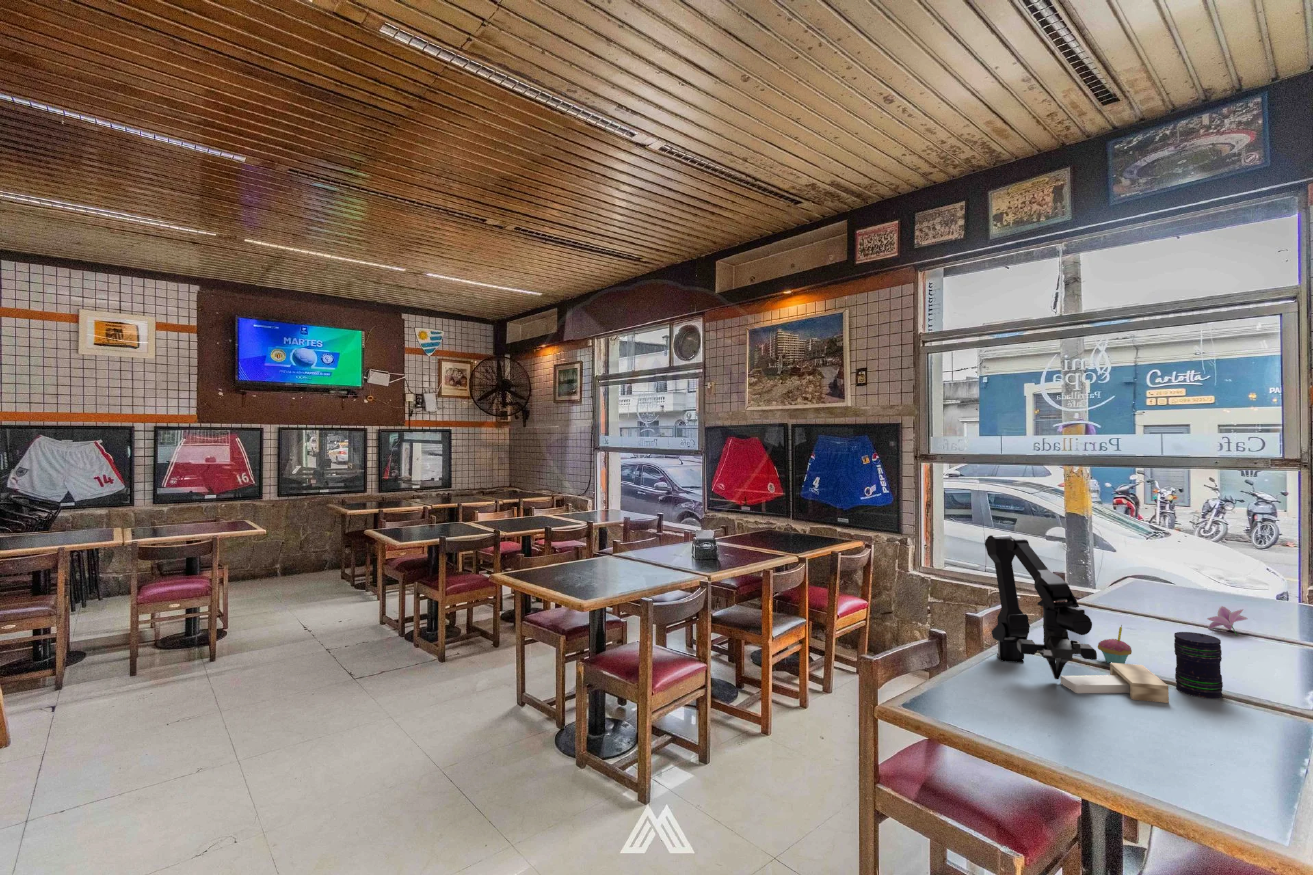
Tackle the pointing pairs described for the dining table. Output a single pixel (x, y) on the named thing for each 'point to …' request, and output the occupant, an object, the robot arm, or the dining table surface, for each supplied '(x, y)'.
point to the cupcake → (1115, 649)
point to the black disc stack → (1198, 665)
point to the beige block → (1141, 682)
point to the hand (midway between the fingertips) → (1056, 678)
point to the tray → (1096, 684)
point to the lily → (1226, 618)
